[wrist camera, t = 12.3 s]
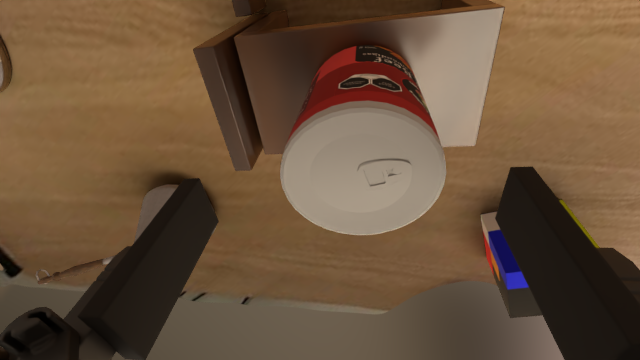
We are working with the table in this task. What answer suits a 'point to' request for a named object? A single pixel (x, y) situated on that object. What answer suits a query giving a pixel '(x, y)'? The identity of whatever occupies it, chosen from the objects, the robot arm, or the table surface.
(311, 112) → the canned food
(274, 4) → the table surface
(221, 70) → the step shelf
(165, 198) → the coffee pot
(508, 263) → the puzzle toy
